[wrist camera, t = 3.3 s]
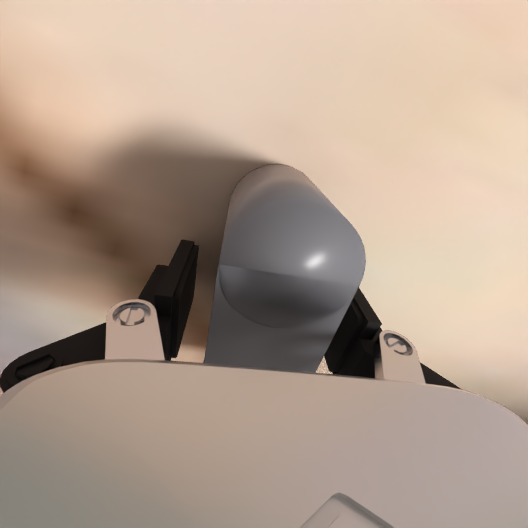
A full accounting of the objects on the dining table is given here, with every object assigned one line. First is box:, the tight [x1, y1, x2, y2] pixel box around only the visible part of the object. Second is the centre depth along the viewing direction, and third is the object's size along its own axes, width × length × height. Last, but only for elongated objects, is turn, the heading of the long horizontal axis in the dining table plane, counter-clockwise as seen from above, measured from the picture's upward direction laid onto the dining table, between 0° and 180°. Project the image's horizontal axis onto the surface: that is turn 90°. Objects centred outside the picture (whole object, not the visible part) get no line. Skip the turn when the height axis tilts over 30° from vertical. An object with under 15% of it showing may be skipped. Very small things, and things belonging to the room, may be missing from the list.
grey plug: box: [204, 164, 366, 373], centre depth 11 cm, size 11×4×5 cm, turn 167°
